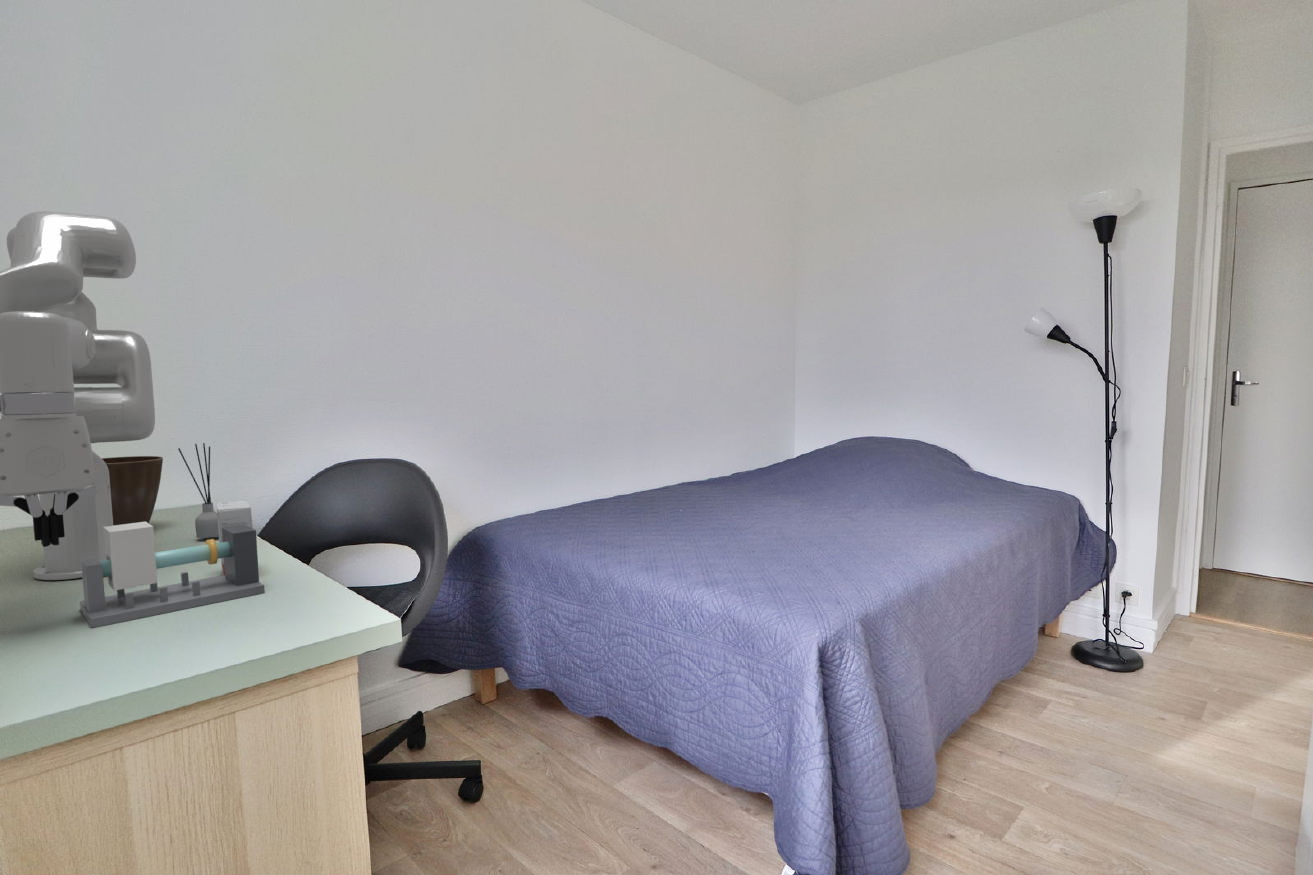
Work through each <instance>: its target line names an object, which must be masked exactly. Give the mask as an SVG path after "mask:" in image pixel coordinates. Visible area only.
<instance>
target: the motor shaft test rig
mask: <svg viewBox="0 0 1313 875" xmlns="http://www.w3.org/2000/svg"><path fill="white" fill-rule="evenodd" d="M222 538H223V542H220V543H219V542H216V541H215V538H210V539H206V540H205V543H204V544H202V545H196V546H195V545H194V546H189V547H182V548H177V549H176V548H175V549H169V550H163V551H162V550H161V551H155V558H156V570H158V569H164V568H170V567H171V568H172V567H175V566H182V565H187V564H193V563H200V562H207V563H208V565H215V564H217V563H218V561H219V559H221V558H224V568H225V575H224V574H223V575H218V576H213V577H207V578H202V579H201V578H200V579H196V580H190V581H189V572H188V571H183V572H180V583H179V582H178V583H174V584H168V585H167V584H166V585H162V586H158V582H157V583H154V584H149V588H145V589H141V590H135V591H131V592H130V591H129V592H126V591H125V589H120V590H116V594H113V595H107V596H106V595H105V594H106V593H105V582H104V581H105V580H104V578H107V577H110V576H112V574H111V561H110V559H109V560H102V561H99V560H98V558H96V559H89V560H83V561H81V565H82V588H83V600H80V601H79V606H80V610H81V613H82V614H83V616H84V617H85V619H86V620H87V622H88V624H89V626H90V627H91V628H99V627H103V626H107V625H108V626H109V625H112V624H113V625H114V624H118V623H123V622H128V621H133V620H138V619H142V618H147V617H153V616H157V615H162V614H167V613H172V612H178V611H181V610H187V609H191V608H197V607H201V606H206V605H211V604H217V603H221V602H225V601H231V600H236V599H241V598H246V597H251V596H255V595H260V594H265V584H263V583H261V582H260V575H259V574H260V573H259V558H258V540H257V530H256V529H254V528H253V529H252V528H250V527H248V526H246V525H239V526H232V527H225V528H222Z"/></svg>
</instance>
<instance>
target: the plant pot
mask: <svg viewBox="0 0 1313 875" xmlns="http://www.w3.org/2000/svg"><path fill="white" fill-rule="evenodd" d="M100 458H101V459H103V461H104V462H105V463H106V465H107V467H108V469H109V477H110V491H111V504H112V517H113V526H114V525H122V524H130V523H138V522H147V523H149V524H150V521H151V519H152V516H153V513H154V509H155V505H156V502H157V499H158V498H157V497H158V495H159V494H158V493H159V490H160V484H161V478H162V470H163V462H164V461H163V459H164V457H163V456H157V455H152V456H151V455H141V456H139V455H134V456H117V457H114V456H113V457H104V458H103V457H100Z"/></svg>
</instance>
